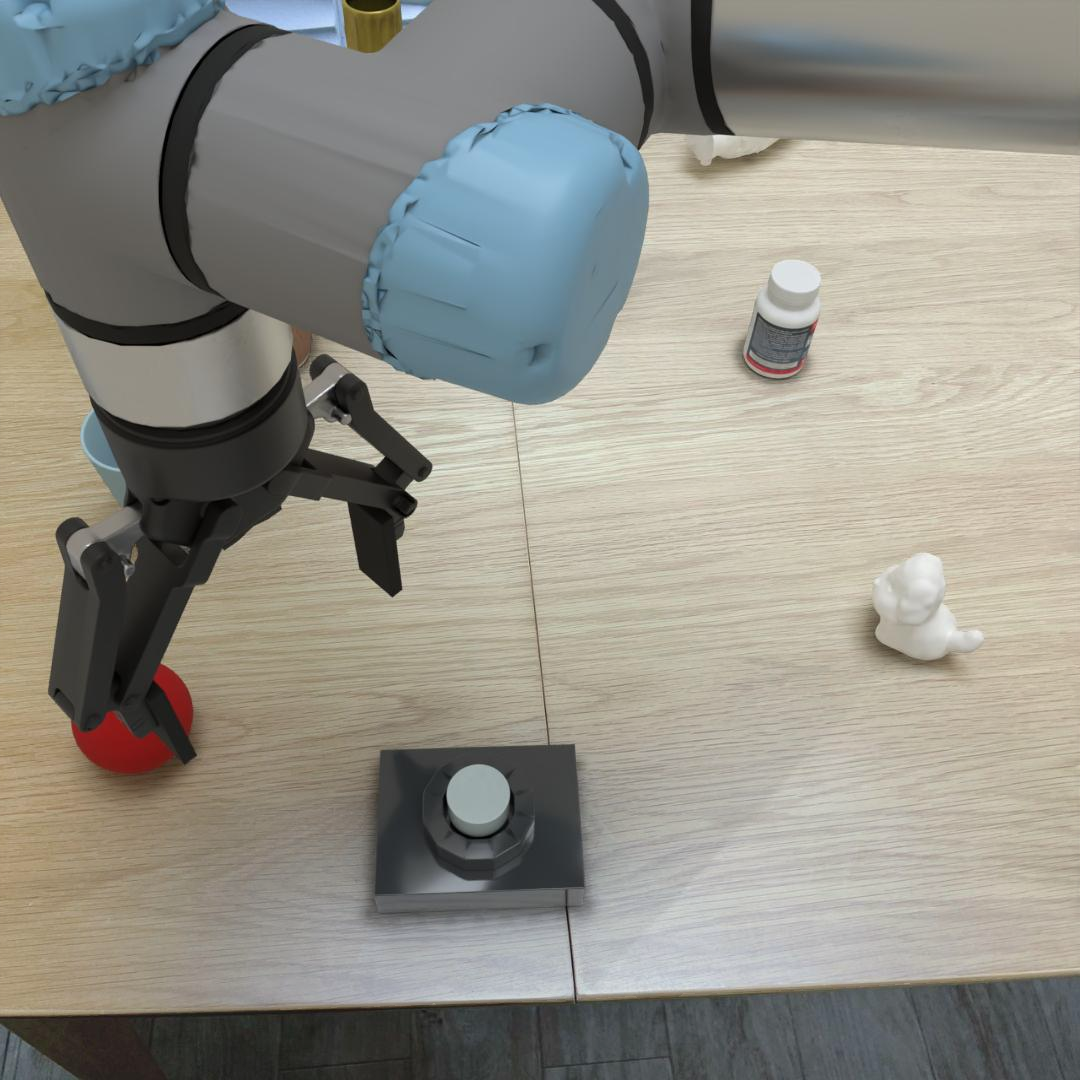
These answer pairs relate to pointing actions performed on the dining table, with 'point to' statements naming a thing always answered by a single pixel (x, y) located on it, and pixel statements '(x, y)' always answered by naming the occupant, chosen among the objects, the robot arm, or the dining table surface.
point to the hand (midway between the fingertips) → (283, 657)
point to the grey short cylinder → (478, 800)
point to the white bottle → (725, 146)
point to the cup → (102, 457)
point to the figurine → (919, 611)
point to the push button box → (478, 862)
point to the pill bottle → (784, 320)
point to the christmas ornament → (125, 751)
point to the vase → (371, 23)
